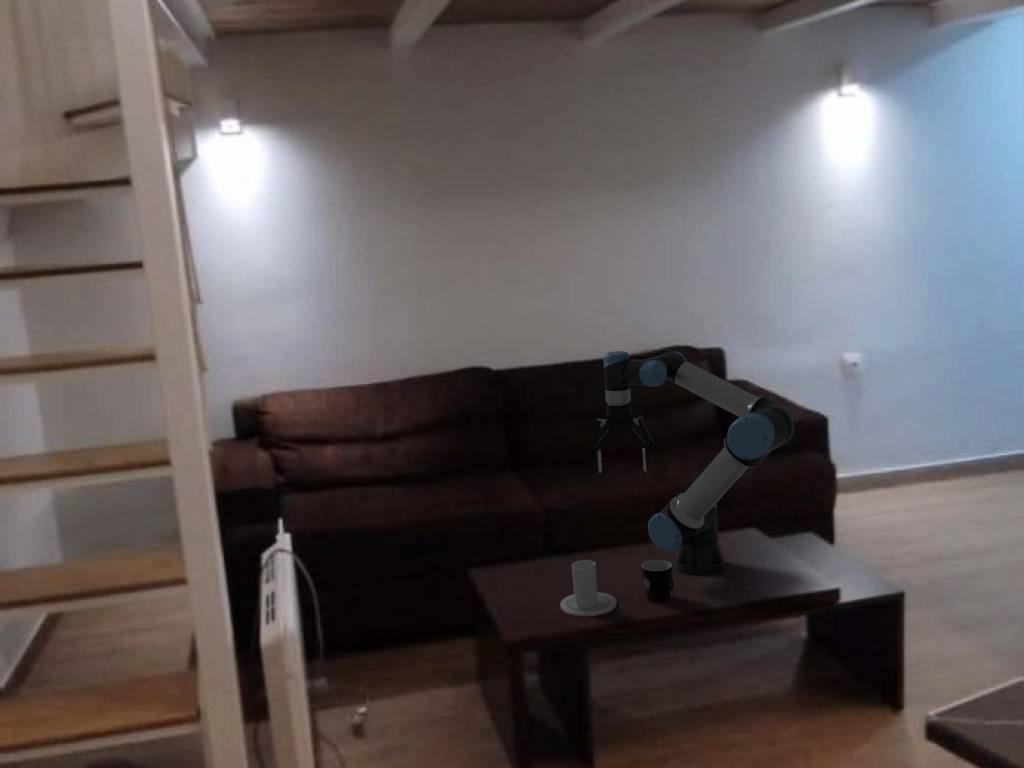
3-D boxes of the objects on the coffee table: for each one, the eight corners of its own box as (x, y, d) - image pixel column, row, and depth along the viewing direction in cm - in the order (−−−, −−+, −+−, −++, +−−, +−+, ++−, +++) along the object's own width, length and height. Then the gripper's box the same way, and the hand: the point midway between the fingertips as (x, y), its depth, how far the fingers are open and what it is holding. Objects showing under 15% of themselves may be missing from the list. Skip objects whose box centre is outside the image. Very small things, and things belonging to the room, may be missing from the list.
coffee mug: (642, 593, 299) (640, 561, 297) (671, 592, 299) (670, 559, 297) (646, 609, 287) (644, 575, 286) (677, 607, 287) (675, 573, 285)
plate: (618, 594, 300) (618, 591, 300) (614, 616, 284) (614, 613, 284) (563, 594, 303) (563, 592, 302) (557, 616, 287) (557, 613, 287)
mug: (600, 607, 289) (597, 567, 287) (576, 610, 288) (573, 569, 286) (594, 594, 299) (592, 555, 296) (572, 596, 298) (569, 557, 296)
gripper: (660, 398, 311) (664, 466, 315) (578, 402, 316) (583, 468, 319) (660, 403, 304) (663, 472, 308) (576, 407, 308) (580, 475, 312)
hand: (622, 470), depth 314 cm, fingers open, 13 cm apart
